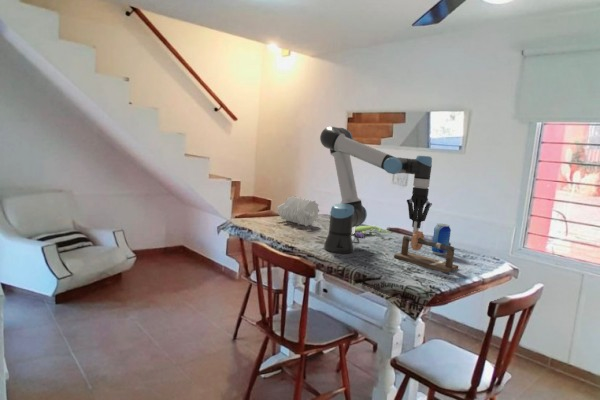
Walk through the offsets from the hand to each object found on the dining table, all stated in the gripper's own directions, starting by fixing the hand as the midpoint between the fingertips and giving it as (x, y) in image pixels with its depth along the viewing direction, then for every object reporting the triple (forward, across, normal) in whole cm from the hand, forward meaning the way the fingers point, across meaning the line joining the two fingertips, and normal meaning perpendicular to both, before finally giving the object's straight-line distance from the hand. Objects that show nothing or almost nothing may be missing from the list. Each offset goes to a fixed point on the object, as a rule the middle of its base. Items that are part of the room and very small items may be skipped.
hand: (415, 234), depth 214 cm
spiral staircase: (+13, +90, -7) cm, 91 cm away
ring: (+7, -2, 0) cm, 8 cm away
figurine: (+13, +48, -26) cm, 56 cm away
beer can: (+13, -1, -26) cm, 29 cm away
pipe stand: (+13, -7, 0) cm, 15 cm away
